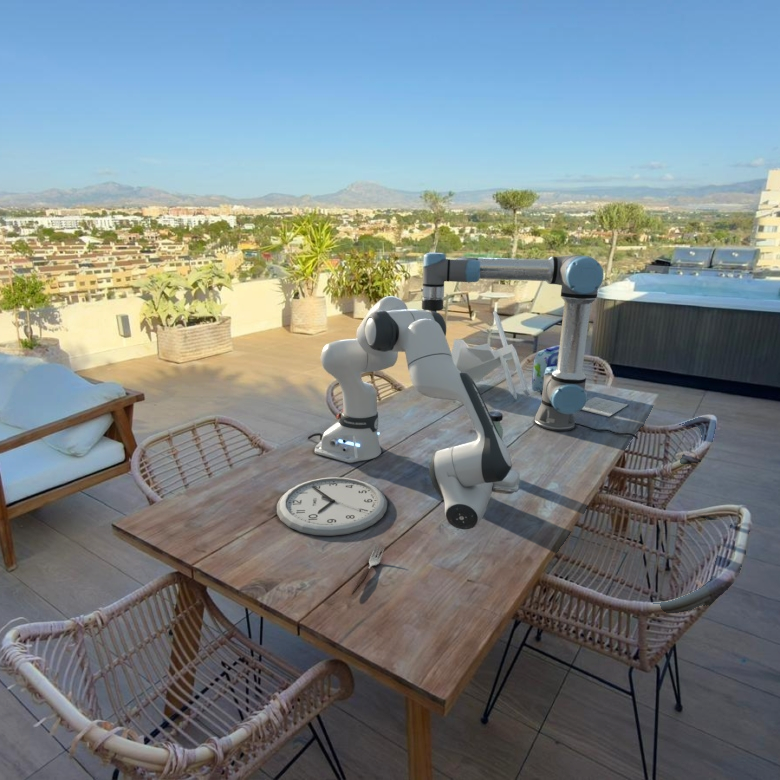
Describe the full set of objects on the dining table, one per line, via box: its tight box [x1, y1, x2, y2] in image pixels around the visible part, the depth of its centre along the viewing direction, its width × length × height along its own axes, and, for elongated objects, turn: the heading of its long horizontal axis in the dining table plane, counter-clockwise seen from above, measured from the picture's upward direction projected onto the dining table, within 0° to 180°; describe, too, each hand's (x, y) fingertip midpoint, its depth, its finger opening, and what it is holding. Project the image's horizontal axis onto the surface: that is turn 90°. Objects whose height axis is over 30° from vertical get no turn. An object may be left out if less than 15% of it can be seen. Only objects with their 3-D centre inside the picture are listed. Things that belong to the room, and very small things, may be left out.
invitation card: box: [580, 396, 629, 418], centre depth 226 cm, size 21×1×15 cm
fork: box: [351, 545, 385, 596], centre depth 114 cm, size 3×16×2 cm, turn 160°
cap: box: [489, 410, 504, 422], centre depth 158 cm, size 5×5×2 cm
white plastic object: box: [451, 310, 531, 400], centre depth 245 cm, size 37×45×31 cm
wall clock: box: [276, 476, 388, 537], centre depth 142 cm, size 30×2×30 cm
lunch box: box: [531, 344, 560, 393], centre depth 245 cm, size 26×11×21 cm, turn 134°
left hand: (483, 464), depth 141 cm, fingers open, 8 cm apart
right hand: (430, 357), depth 190 cm, fingers open, 13 cm apart
